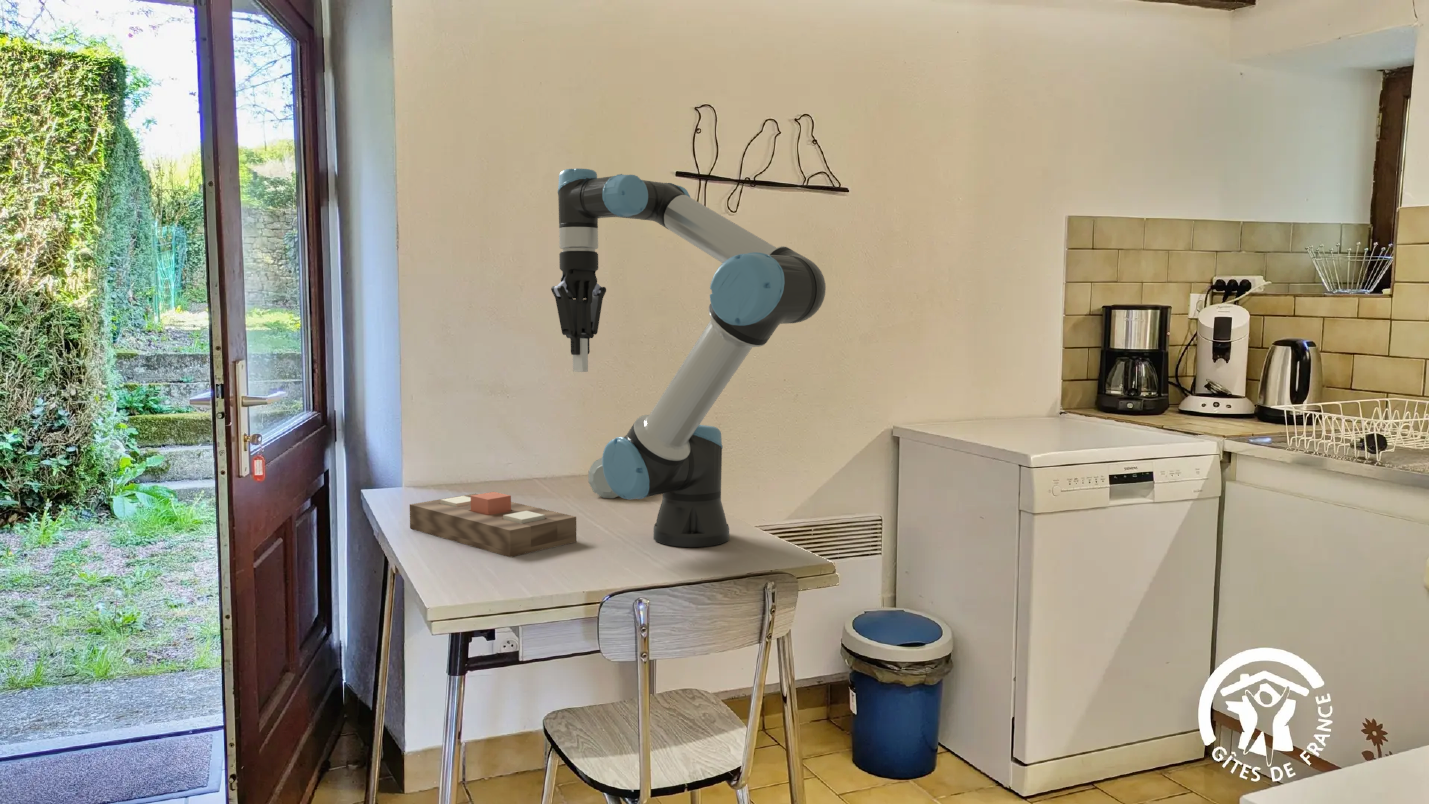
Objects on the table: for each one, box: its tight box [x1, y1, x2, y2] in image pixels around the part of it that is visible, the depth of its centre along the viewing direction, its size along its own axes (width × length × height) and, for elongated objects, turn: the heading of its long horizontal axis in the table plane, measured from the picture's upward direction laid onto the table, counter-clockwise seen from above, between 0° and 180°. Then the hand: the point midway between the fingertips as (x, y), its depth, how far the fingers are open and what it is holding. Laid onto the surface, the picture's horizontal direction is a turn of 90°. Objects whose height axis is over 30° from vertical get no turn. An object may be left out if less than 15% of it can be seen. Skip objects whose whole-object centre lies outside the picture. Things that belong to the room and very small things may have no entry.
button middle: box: [471, 491, 512, 515], centre depth 199 cm, size 6×6×4 cm
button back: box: [440, 495, 471, 507], centre depth 206 cm, size 6×6×4 cm
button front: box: [503, 511, 545, 524], centre depth 192 cm, size 6×6×4 cm
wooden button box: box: [409, 493, 577, 558], centre depth 199 cm, size 33×16×5 cm, turn 49°
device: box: [588, 457, 619, 499], centre depth 250 cm, size 31×10×10 cm, turn 168°
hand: (580, 371), depth 196 cm, fingers closed
